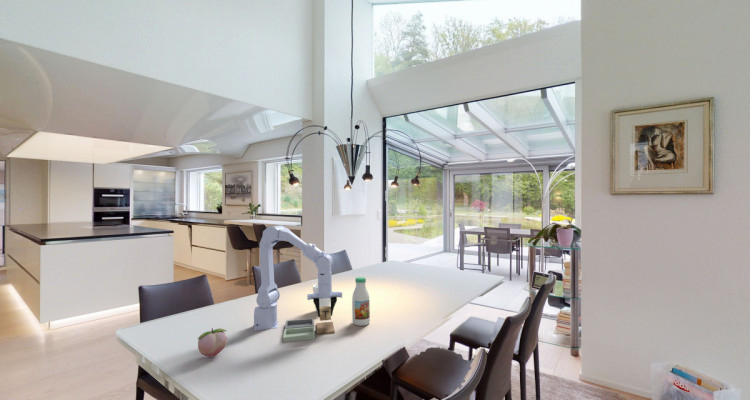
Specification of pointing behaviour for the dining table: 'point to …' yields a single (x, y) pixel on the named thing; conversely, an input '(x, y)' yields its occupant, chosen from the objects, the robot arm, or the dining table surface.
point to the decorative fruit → (212, 342)
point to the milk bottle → (360, 303)
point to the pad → (325, 328)
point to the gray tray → (299, 323)
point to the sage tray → (298, 334)
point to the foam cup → (321, 301)
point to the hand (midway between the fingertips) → (325, 315)
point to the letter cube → (325, 313)
